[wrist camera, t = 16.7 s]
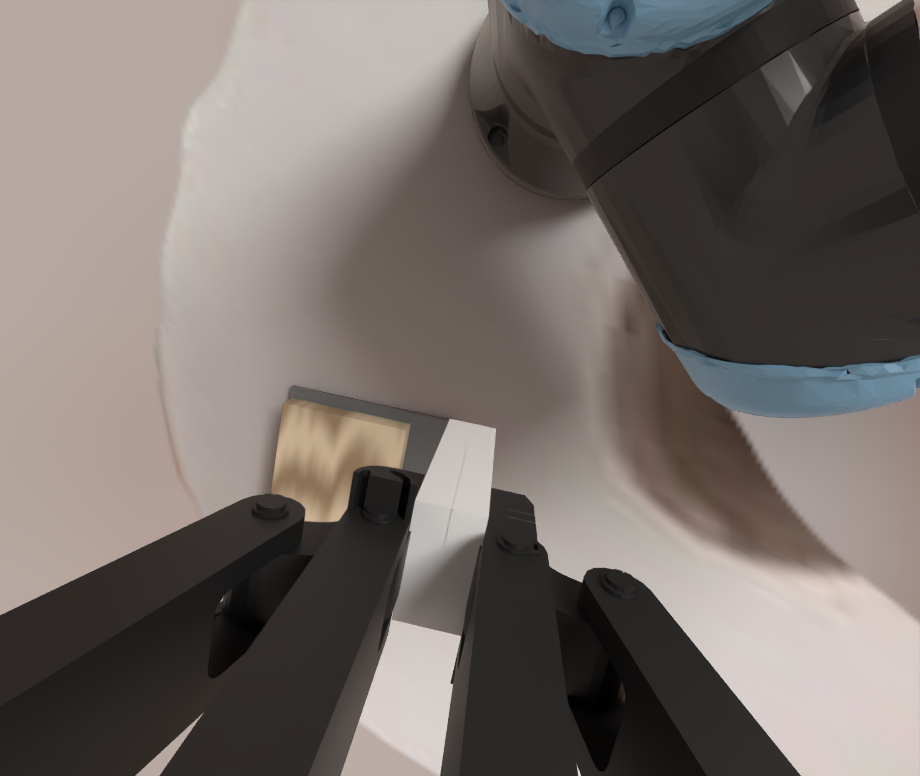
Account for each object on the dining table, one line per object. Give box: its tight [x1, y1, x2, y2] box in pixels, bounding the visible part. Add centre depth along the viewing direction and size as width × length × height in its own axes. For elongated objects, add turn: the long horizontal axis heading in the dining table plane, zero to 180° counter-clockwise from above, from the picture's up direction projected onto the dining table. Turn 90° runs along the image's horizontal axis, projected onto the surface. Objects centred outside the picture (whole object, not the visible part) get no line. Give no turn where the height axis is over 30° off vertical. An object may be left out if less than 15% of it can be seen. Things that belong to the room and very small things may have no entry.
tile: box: [271, 398, 411, 522], centre depth 45 cm, size 12×2×10 cm
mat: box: [289, 386, 449, 475], centre depth 46 cm, size 14×14×1 cm
